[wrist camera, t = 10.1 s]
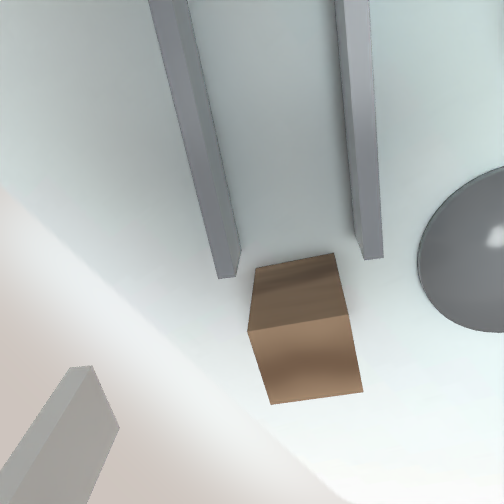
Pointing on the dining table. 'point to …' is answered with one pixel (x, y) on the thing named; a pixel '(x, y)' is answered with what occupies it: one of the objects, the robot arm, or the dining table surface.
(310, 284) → the block
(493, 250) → the coaster
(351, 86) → the channel
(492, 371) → the dining table surface
